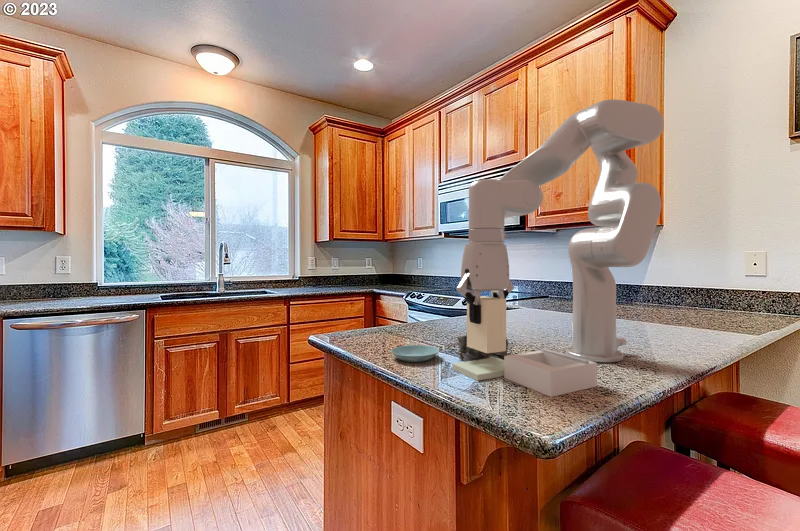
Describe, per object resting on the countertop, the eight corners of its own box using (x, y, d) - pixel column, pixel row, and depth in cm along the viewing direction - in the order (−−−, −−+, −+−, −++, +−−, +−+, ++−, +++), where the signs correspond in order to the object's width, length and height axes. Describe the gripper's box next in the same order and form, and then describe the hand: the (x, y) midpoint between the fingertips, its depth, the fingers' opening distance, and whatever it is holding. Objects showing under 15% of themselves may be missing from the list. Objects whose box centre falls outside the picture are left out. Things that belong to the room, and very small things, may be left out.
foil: (527, 347, 90) (479, 316, 86) (504, 387, 89) (455, 357, 85) (501, 335, 101) (458, 307, 97) (480, 371, 100) (436, 343, 96)
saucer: (381, 358, 94) (381, 349, 94) (418, 350, 102) (417, 342, 102) (411, 368, 85) (411, 358, 85) (449, 359, 92) (449, 350, 92)
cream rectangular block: (484, 344, 86) (485, 296, 86) (505, 350, 80) (506, 299, 80) (466, 346, 84) (467, 297, 84) (486, 353, 78) (487, 300, 78)
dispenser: (547, 369, 83) (547, 347, 83) (596, 386, 72) (596, 360, 72) (504, 377, 77) (504, 353, 77) (550, 396, 67) (550, 368, 67)
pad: (495, 362, 89) (495, 357, 89) (523, 372, 81) (523, 366, 81) (452, 369, 84) (452, 363, 84) (477, 380, 76) (477, 374, 76)
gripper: (505, 239, 89) (504, 317, 89) (443, 238, 81) (443, 322, 82) (528, 238, 82) (528, 321, 82) (463, 236, 75) (463, 327, 75)
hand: (485, 321), depth 82 cm, fingers closed on cream rectangular block, 4 cm apart
